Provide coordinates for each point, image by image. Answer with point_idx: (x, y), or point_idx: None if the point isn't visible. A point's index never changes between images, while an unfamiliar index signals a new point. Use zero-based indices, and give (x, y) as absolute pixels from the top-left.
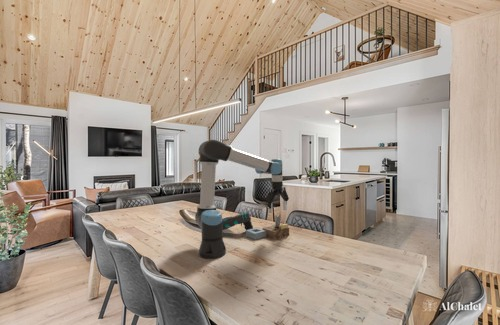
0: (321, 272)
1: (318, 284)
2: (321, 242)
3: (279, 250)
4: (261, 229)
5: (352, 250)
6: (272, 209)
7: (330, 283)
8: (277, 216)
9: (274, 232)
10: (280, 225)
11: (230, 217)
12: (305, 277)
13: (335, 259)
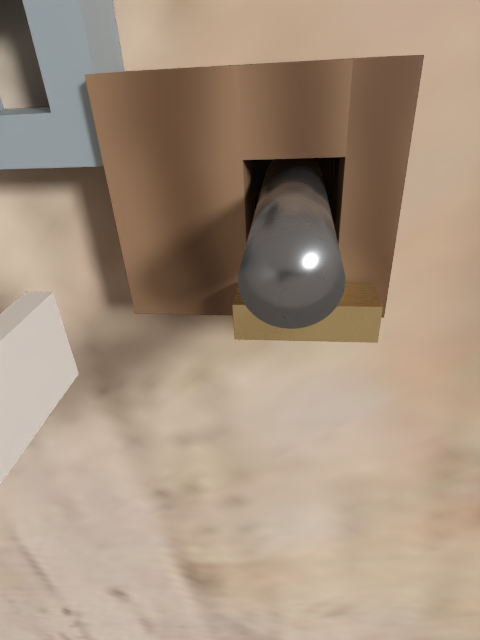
0: (95, 600)
1: (37, 612)
2: (387, 505)
3: (64, 430)
4: (78, 66)
5: (382, 610)
6: (27, 441)
7: (72, 625)
8: (256, 309)
9: (136, 308)
10: (245, 322)
11: None
12: (25, 586)
13: (226, 598)
